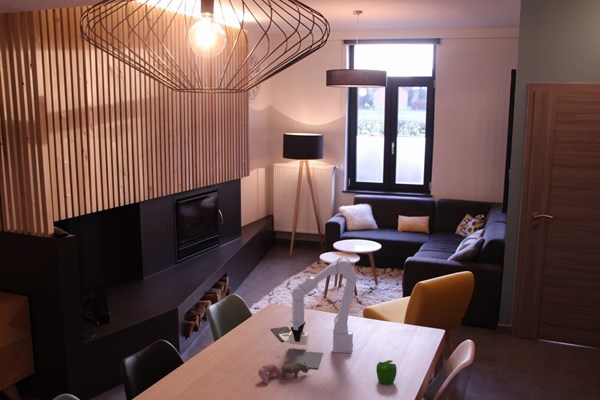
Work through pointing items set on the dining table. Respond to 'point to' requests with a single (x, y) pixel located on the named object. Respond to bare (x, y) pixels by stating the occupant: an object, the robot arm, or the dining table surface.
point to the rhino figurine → (293, 369)
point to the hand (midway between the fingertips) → (298, 339)
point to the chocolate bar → (282, 333)
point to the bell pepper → (386, 372)
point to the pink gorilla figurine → (271, 369)
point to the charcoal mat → (305, 358)
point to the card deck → (302, 339)
